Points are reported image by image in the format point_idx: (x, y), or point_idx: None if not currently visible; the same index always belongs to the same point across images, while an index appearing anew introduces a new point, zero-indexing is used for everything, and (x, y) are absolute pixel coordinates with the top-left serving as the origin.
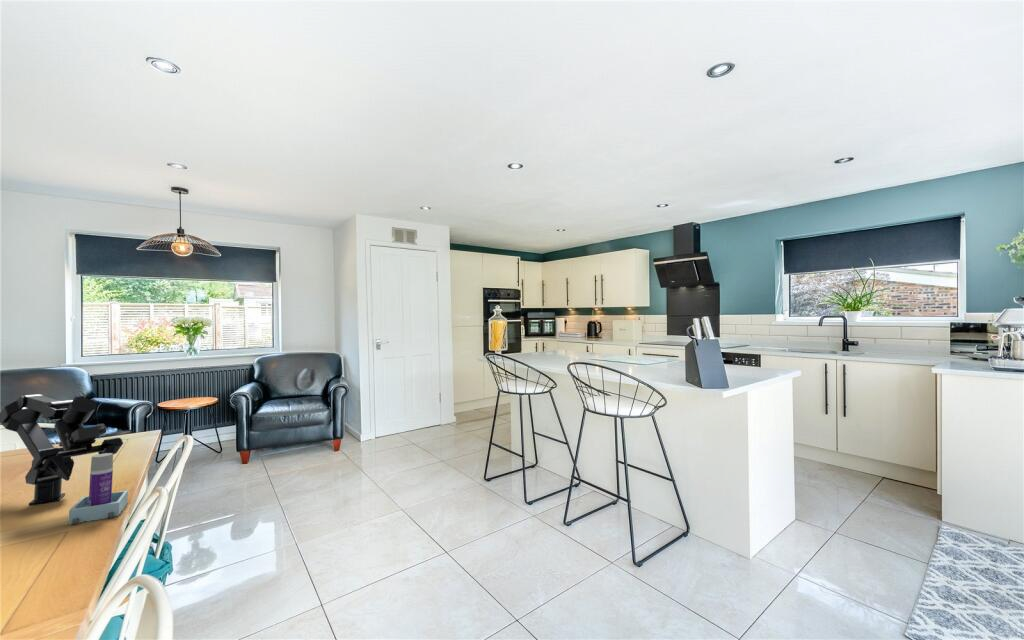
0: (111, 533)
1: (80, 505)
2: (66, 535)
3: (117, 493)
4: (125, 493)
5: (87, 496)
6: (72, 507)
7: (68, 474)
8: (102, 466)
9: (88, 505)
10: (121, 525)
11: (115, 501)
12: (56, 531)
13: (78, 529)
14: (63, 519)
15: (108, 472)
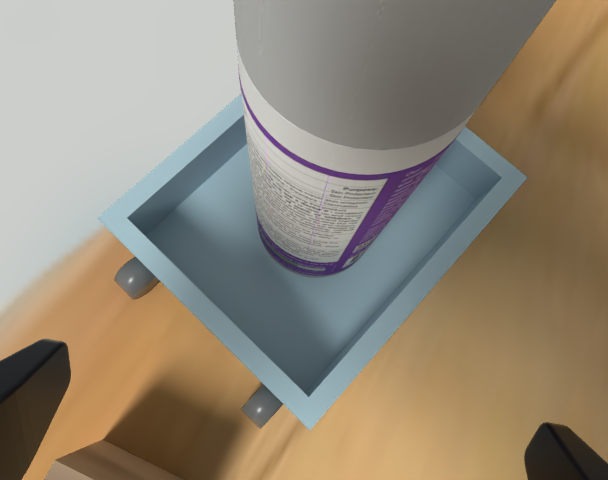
0: None
1: (386, 305)
2: (559, 71)
3: (159, 251)
4: (172, 154)
5: (289, 399)
6: (489, 217)
7: (587, 467)
8: None
9: (300, 357)
10: None
11: (197, 245)
12: (553, 172)
13: (500, 91)
14: (442, 342)
15: None
